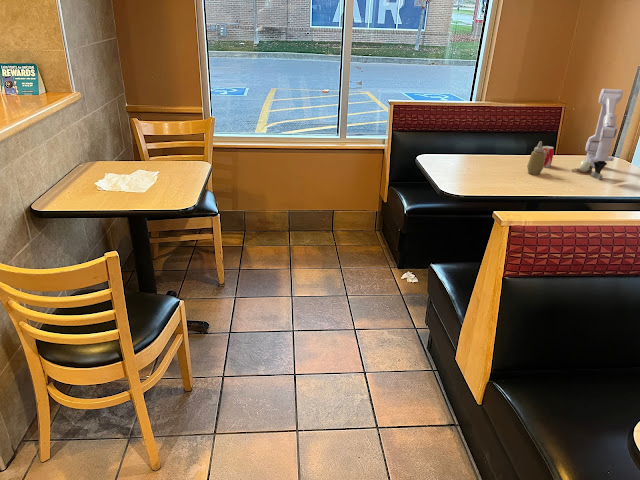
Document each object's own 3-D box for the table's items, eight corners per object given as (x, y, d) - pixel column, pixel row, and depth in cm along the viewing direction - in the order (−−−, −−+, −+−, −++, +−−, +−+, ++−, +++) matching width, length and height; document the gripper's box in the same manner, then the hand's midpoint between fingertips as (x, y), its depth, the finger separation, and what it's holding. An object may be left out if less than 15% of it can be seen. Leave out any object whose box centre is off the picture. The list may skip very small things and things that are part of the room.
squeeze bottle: (541, 172, 261) (549, 140, 253) (541, 176, 255) (548, 144, 247) (526, 170, 264) (533, 138, 256) (525, 174, 258) (532, 142, 250)
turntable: (566, 170, 264) (567, 163, 262) (585, 169, 266) (587, 162, 264) (589, 182, 247) (591, 174, 245) (609, 181, 248) (612, 173, 246)
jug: (582, 173, 257) (584, 162, 254) (576, 170, 261) (579, 160, 258) (591, 172, 258) (594, 162, 255) (586, 170, 262) (589, 159, 259)
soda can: (551, 169, 266) (556, 149, 261) (538, 169, 267) (542, 148, 262) (548, 166, 272) (553, 145, 267) (535, 165, 273) (540, 145, 268)
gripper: (598, 152, 240) (591, 178, 246) (621, 150, 243) (613, 175, 249) (587, 149, 246) (581, 173, 252) (610, 147, 249) (603, 171, 255)
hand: (596, 174), depth 251 cm, fingers closed, pressing on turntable
